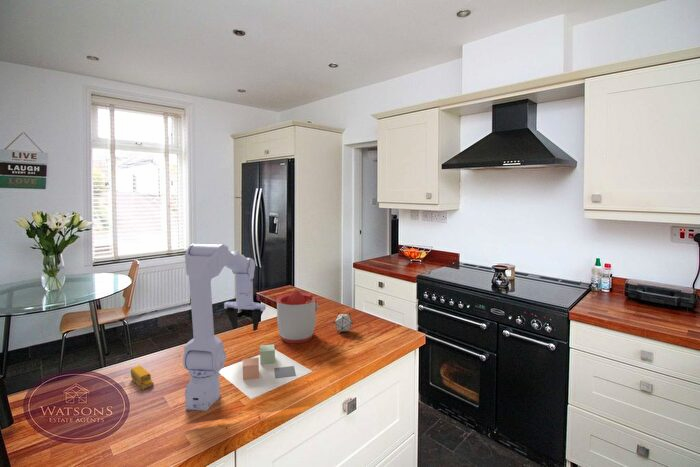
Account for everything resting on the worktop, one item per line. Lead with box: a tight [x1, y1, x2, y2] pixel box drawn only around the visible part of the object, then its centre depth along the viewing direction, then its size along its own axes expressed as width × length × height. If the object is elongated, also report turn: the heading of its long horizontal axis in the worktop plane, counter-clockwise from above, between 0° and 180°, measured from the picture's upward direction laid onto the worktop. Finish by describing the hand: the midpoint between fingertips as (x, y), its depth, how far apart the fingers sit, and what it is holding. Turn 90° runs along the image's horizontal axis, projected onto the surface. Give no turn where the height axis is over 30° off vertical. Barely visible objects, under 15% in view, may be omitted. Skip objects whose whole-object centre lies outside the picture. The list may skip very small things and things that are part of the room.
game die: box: [332, 311, 355, 334], centre depth 148 cm, size 9×8×10 cm
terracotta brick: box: [242, 357, 259, 380], centre depth 110 cm, size 5×5×4 cm
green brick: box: [259, 344, 276, 365], centre depth 120 cm, size 5×5×4 cm
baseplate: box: [219, 349, 313, 400], centre depth 113 cm, size 22×22×1 cm
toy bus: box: [130, 365, 155, 391], centre depth 107 cm, size 3×10×4 cm, turn 49°
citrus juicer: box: [275, 290, 321, 344], centre depth 139 cm, size 16×17×20 cm
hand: (245, 328), depth 125 cm, fingers open, 7 cm apart
